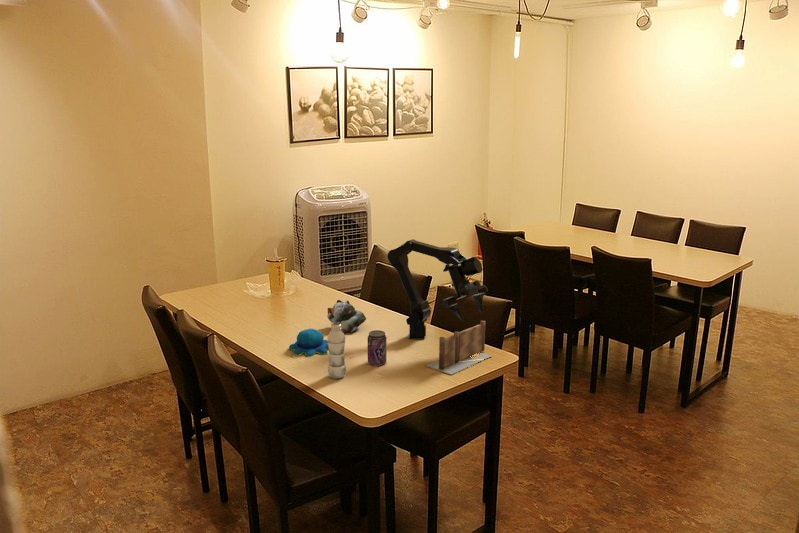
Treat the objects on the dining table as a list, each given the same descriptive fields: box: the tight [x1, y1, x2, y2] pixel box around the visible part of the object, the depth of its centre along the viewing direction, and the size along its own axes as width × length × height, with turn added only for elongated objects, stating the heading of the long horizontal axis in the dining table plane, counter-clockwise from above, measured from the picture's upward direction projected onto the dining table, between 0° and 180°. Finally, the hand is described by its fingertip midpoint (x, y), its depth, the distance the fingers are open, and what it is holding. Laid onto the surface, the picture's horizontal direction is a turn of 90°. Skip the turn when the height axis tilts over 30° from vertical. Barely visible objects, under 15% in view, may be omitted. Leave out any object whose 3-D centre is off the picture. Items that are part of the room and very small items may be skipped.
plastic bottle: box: [326, 322, 347, 380], centre depth 223 cm, size 6×7×20 cm
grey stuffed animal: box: [326, 299, 367, 334], centre depth 275 cm, size 15×12×14 cm
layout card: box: [426, 352, 492, 376], centre depth 240 cm, size 12×25×1 cm, turn 137°
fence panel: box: [458, 320, 486, 361], centre depth 243 cm, size 16×2×12 cm, turn 137°
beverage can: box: [367, 329, 387, 367], centre depth 237 cm, size 7×7×12 cm
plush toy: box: [288, 328, 329, 357], centre depth 252 cm, size 17×17×8 cm
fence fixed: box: [438, 330, 460, 370], centre depth 234 cm, size 10×2×12 cm, turn 136°
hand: (471, 316), depth 251 cm, fingers open, 9 cm apart
